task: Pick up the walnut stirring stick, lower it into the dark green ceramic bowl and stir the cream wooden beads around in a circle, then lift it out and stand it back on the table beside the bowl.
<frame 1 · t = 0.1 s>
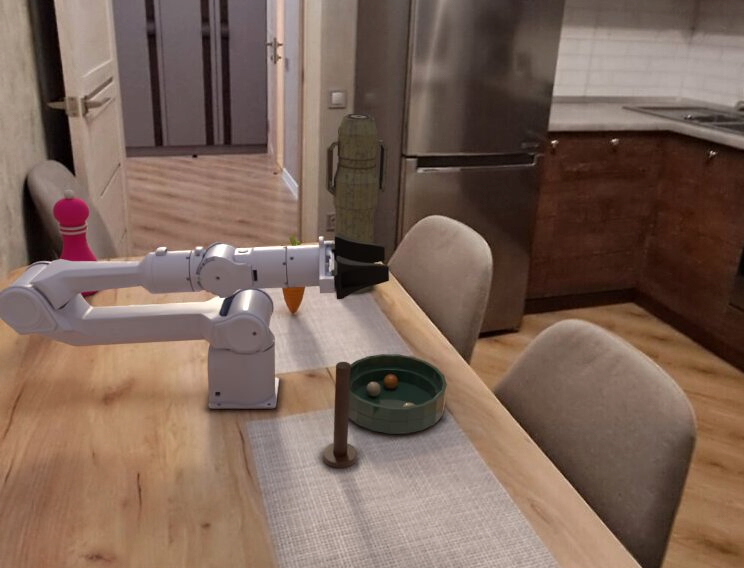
hand: (386, 262, 93), 22 cm above the table, tool horizontal, fingers open, 7 cm apart
pepper mill: (81, 291, 129), on the table
bowl: (392, 405, 99), on the table
bead b: (409, 410, 95), point 2 cm above the table, touching bowl
thermos: (351, 286, 140), on the table
stick: (339, 457, 87), on the table
bead c: (390, 381, 102), point 2 cm above the table, touching bowl
carrot: (293, 314, 125), on the table
bead a: (373, 389, 100), point 2 cm above the table, touching bowl
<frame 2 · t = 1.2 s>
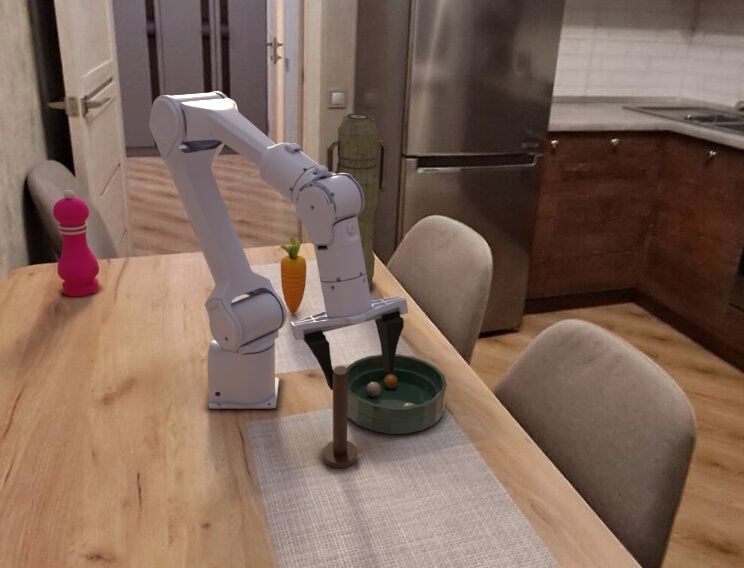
hand: (361, 379, 84), 11 cm above the table, tool tilted 15°, fingers open, 7 cm apart
stick: (340, 456, 87), on the table, tilted 6°
everything else where it was.
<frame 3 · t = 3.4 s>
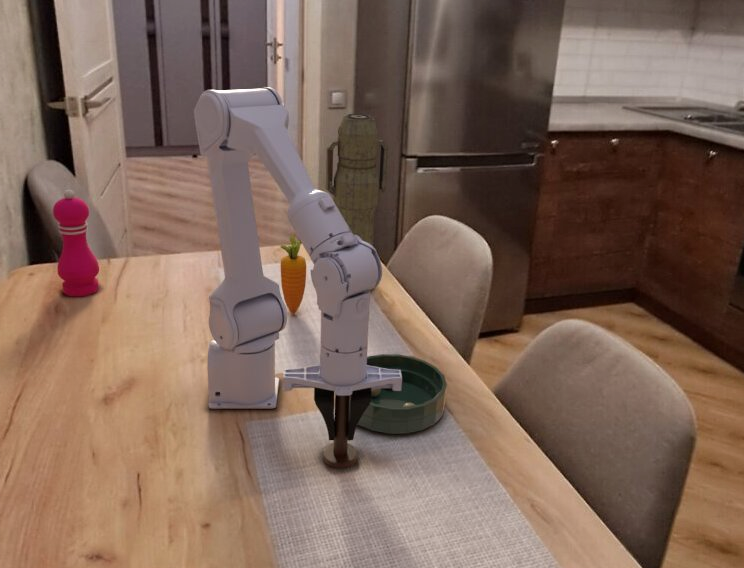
hand: (340, 435, 86), 3 cm above the table, tool pointing down, fingers closed on stick, 2 cm apart
stick: (340, 457, 87), on the table, touching gripper
everything else where it was.
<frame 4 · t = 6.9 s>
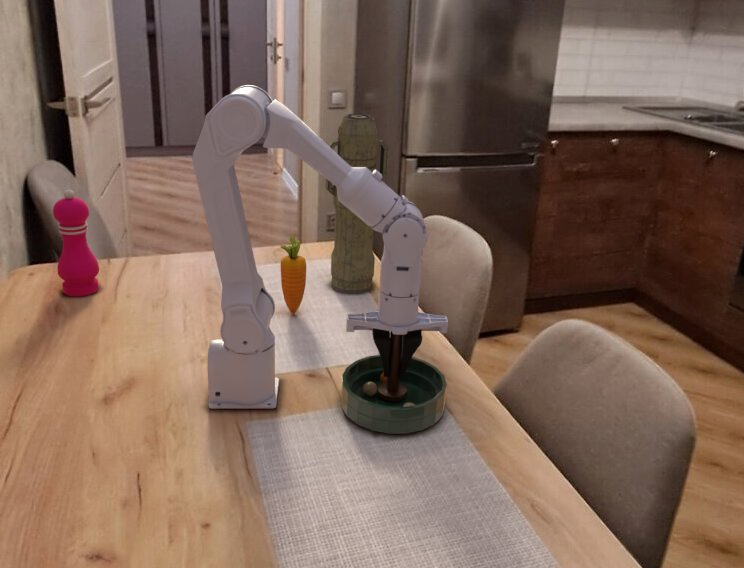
hand: (393, 373, 99), 4 cm above the table, tool pointing down, fingers closed on stick, 2 cm apart
stick: (392, 393, 100), point 1 cm above the table, touching bead c, gripper
bead c: (387, 378, 103), point 2 cm above the table, tilted 54°, touching bowl, stick
bead a: (370, 389, 100), point 2 cm above the table, tilted 26°, touching bowl
everything else where it was.
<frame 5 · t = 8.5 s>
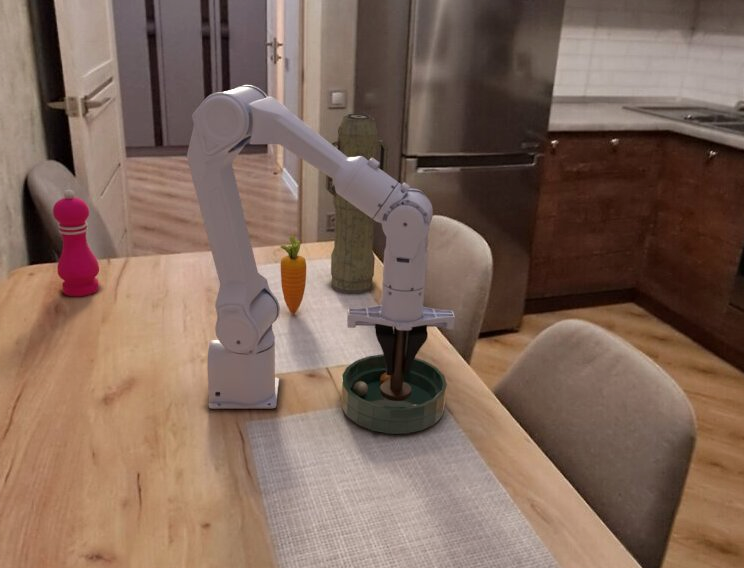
hand: (397, 371, 94), 7 cm above the table, tool pointing down, fingers closed on stick
bead b: (415, 412, 95), point 2 cm above the table, tilted 49°, touching bowl
stick: (395, 392, 95), point 4 cm above the table, touching gripper
bead c: (386, 379, 102), point 2 cm above the table, tilted 36°, touching bowl
bead a: (360, 388, 100), point 2 cm above the table, tilted 99°, touching bowl
everything else where it was.
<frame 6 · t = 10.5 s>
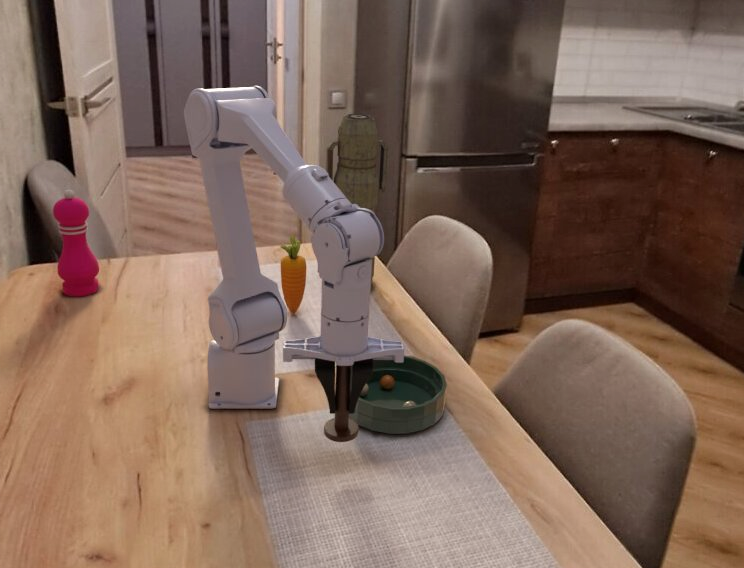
hand: (341, 409, 84), 7 cm above the table, tool pointing down, fingers closed on stick
bead b: (409, 408, 96), point 2 cm above the table, tilted 22°, touching bowl
stick: (341, 432, 85), point 4 cm above the table, touching gripper
bead c: (387, 382, 102), point 2 cm above the table, tilted 24°, touching bowl
everything else where it was.
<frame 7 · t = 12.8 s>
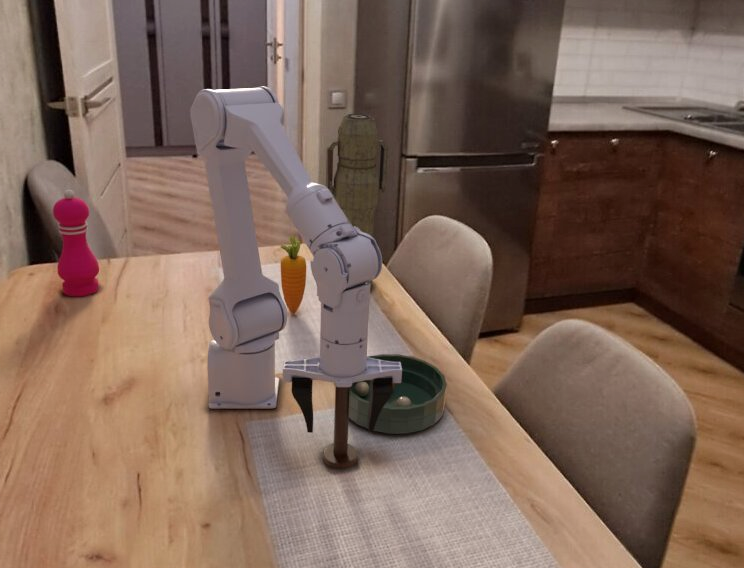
hand: (340, 427, 85), 4 cm above the table, tool pointing down, fingers open, 7 cm apart
bead b: (403, 404, 96), point 2 cm above the table, tilted 87°, touching bowl
stick: (340, 457, 87), on the table
bead c: (387, 384, 101), point 2 cm above the table, tilted 50°, touching bowl
bead a: (361, 388, 100), point 2 cm above the table, tilted 88°, touching bowl
everything else where it was.
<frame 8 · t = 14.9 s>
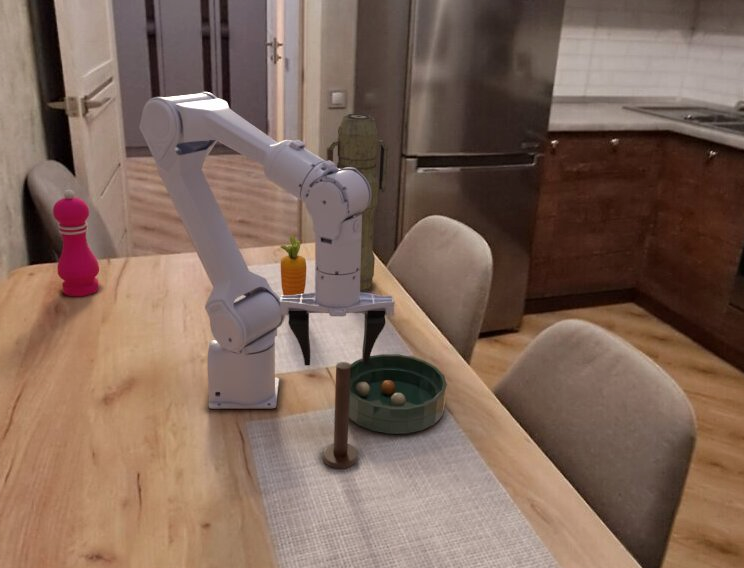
hand: (336, 361, 89), 10 cm above the table, tool pointing down, fingers open, 7 cm apart
bead b: (398, 400, 97), point 2 cm above the table, tilted 149°, touching bowl
bead c: (388, 387, 100), point 2 cm above the table, tilted 83°, touching bowl
bead a: (362, 389, 100), point 2 cm above the table, tilted 83°, touching bowl
everything else where it was.
at the end: bead a moved 1.6 cm from its start; stick inside the target area (0.1 cm from its centre), on the table; stick tilted 0° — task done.
